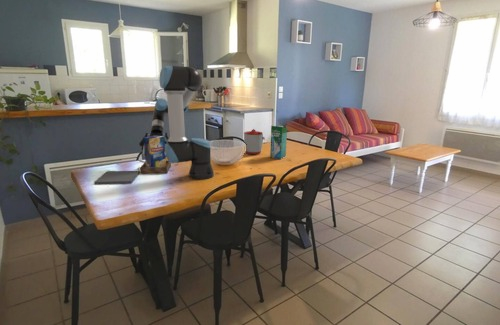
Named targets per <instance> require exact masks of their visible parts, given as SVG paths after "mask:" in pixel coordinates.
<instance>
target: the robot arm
mask: <svg viewBox="0 0 500 325" xmlns="http://www.w3.org/2000/svg"><path fill="white" fill-rule="evenodd" d="M159 72H160V73H159V87H160V88H161V89H163V93H165V94H166V99H164V98H158V99H157V100H156V101H155V104H154V109H153V111H152V122H151V128H150V129H151V131H150V133H148V132H146V133H145V135H144V137H149V136H156V135H160V136H164V138H165V139H166V140H165V156H166V160H167V161H169V162H170V163H171V164H180V163H187V162H191V164H190V167H189V172H188V176H189V178H190V179H193V180H207V179H211V178H213V177H214V173H215V172H214V169H213V167H212V164H211V149H212V147H211V143H210V141H209V140H208V139H205V138H199V137H198V138H197V137H194V138H193V137H192V138H191V139H190V140H189V139H188V138H187V137H186V130H185V128H186V127H185V113H187V112H189V106H190V105H189V103H190V101H191V100H192V99H193V96H194V95H195V94H196V92H198V91H199V90H200V88H201V87H202V84H203V78H202V76H201V74H200V72H199V70H197V69H196V68H194V67H192V66H182V65H181V66H180V65H165V66H163V67H162V68H161V70H160V71H159ZM166 114H167V116H168V128H169V136H168V133H167V132H165V133H164V124H165V123H164V122H165V117H166ZM138 143H139V147H141V151H142V156H143V157H145V150H144V138H142V139H141V140H140V142H138Z"/></svg>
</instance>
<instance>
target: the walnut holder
mask: <svg viewBox="0 0 500 325" xmlns="http://www.w3.org/2000/svg"><path fill="white" fill-rule="evenodd" d="M171 167H172V163H170V162H169V161H168V160H166V166H165V167H146V162H143V163H142V165H141V166H140V167H139V171H140V174H139V175H151V174H152V175H155V174H158V175H161V174H168V172H169V171H170V169H171Z"/></svg>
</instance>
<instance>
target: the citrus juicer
mask: <svg viewBox="0 0 500 325" xmlns="http://www.w3.org/2000/svg"><path fill="white" fill-rule="evenodd" d="M243 136H244V137H243V143H244V142H245V143H246V144H247V145H246V151H245V153H246V154H248V155H256V154H258V155H259V153H260V154H261V152H262V150H263V142H264V141H265V140H266V138H265V136H263V132H262V131H257V130H256V129H255V128H253V129H252V130H250V131H244V132H243Z"/></svg>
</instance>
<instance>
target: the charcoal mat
mask: <svg viewBox="0 0 500 325" xmlns="http://www.w3.org/2000/svg"><path fill="white" fill-rule="evenodd" d="M139 175H141V174H140V170H112V171H111V170H107V171H105V172H104V173H103V174H101V176H99V177H98V178H97V179H96V180H95V181H94V182H93V184H94V185H123V184H124V185H125V184H128V185H129V184H133V182H134V181H135V180H136V178H137V177H139Z"/></svg>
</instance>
